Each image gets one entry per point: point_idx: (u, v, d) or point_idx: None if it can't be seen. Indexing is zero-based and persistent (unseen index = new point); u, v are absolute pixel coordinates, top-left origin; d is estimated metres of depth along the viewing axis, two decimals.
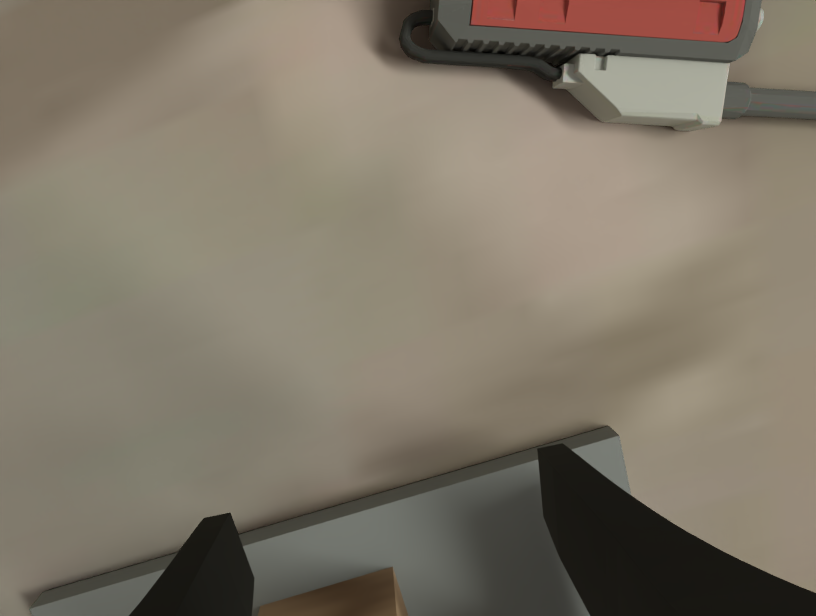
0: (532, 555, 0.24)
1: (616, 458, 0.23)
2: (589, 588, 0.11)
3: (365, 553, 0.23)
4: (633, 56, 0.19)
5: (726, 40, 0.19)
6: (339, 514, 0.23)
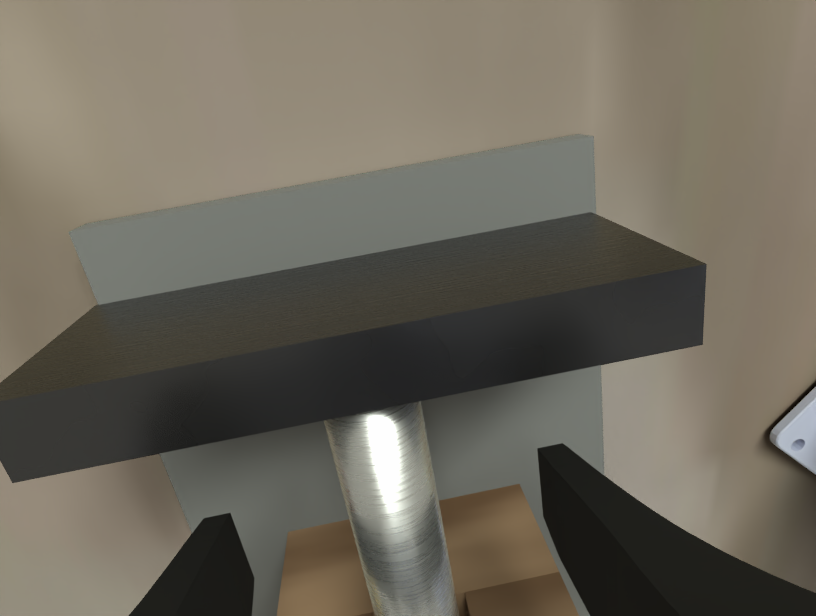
0: None
1: (112, 236, 0.14)
2: (589, 588, 0.11)
3: (266, 559, 0.18)
4: None
5: None
6: None
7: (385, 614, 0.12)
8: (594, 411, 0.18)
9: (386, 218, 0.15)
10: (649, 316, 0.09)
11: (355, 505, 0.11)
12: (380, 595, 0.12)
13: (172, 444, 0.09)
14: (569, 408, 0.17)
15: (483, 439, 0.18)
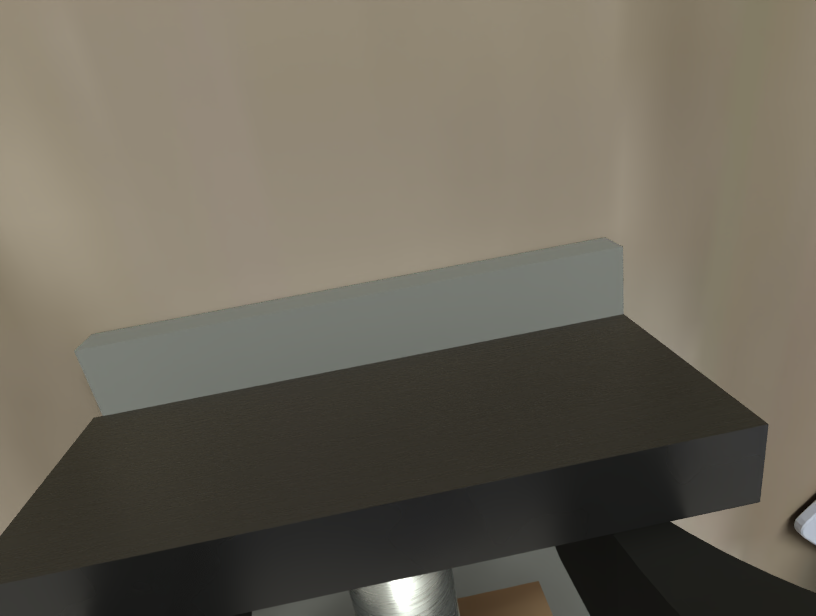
0: None
1: (120, 353, 0.13)
2: (589, 588, 0.11)
3: None
4: None
5: None
6: None
7: None
8: None
9: (406, 330, 0.14)
10: (704, 477, 0.08)
11: None
12: None
13: None
14: None
15: None
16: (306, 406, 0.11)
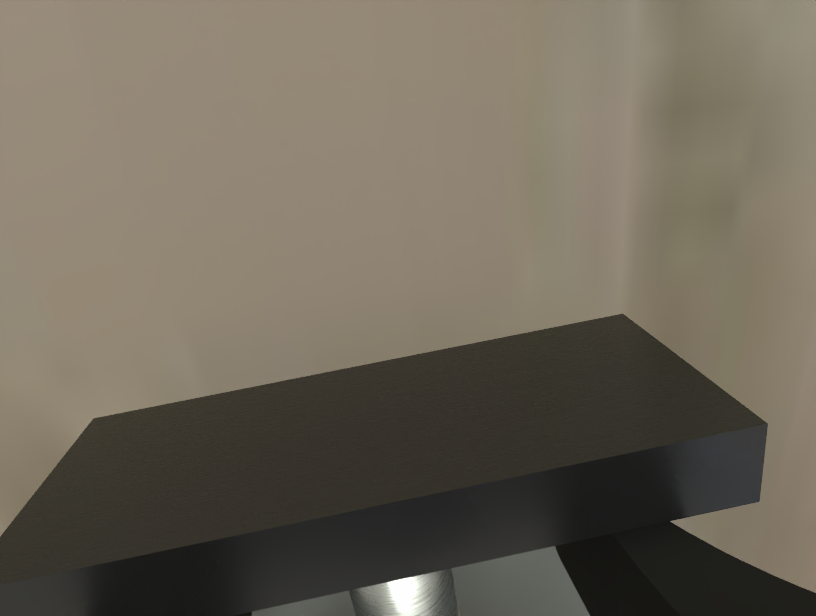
0: None
1: None
2: (589, 588, 0.11)
3: None
4: None
5: None
6: None
7: None
8: None
9: None
10: (703, 476, 0.08)
11: None
12: None
13: None
14: None
15: None
16: (306, 406, 0.11)
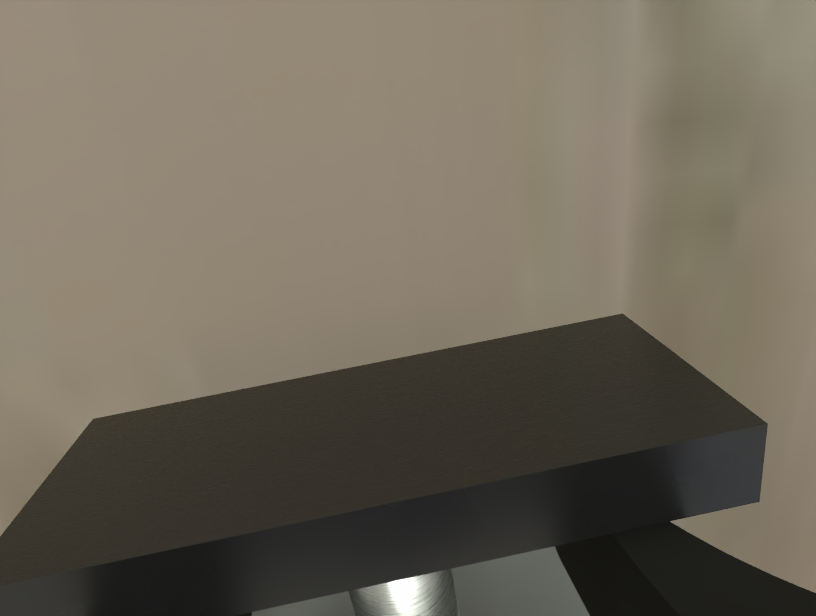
0: None
1: None
2: (588, 588, 0.11)
3: None
4: None
5: None
6: None
7: None
8: None
9: None
10: (703, 476, 0.08)
11: None
12: None
13: None
14: None
15: None
16: (305, 407, 0.11)
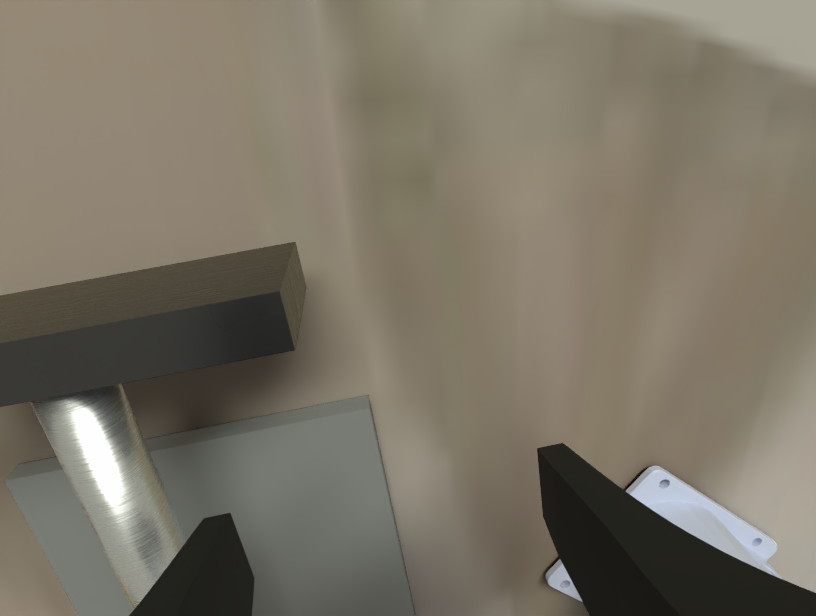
0: None
1: (35, 481, 0.20)
2: (589, 588, 0.11)
3: None
4: None
5: None
6: None
7: (110, 562, 0.15)
8: (398, 572, 0.24)
9: (228, 462, 0.21)
10: (245, 329, 0.12)
11: (65, 473, 0.14)
12: (102, 545, 0.15)
13: None
14: (379, 570, 0.24)
15: (317, 593, 0.24)
16: (29, 301, 0.15)
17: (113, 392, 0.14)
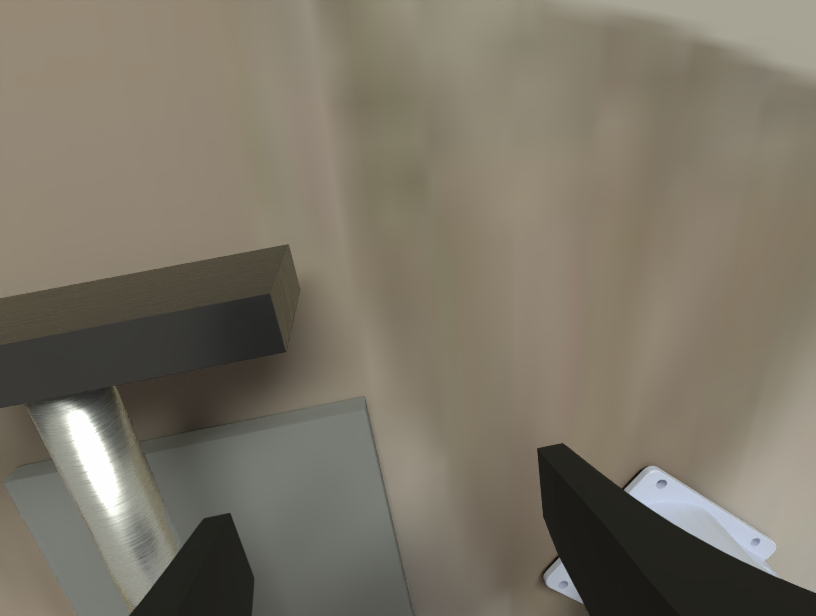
0: None
1: (33, 483, 0.21)
2: (589, 588, 0.11)
3: None
4: None
5: None
6: None
7: (106, 562, 0.15)
8: (396, 572, 0.24)
9: (224, 464, 0.21)
10: (236, 331, 0.12)
11: (60, 475, 0.14)
12: (97, 547, 0.15)
13: None
14: (377, 571, 0.24)
15: (315, 594, 0.24)
16: (25, 304, 0.15)
17: (107, 394, 0.14)
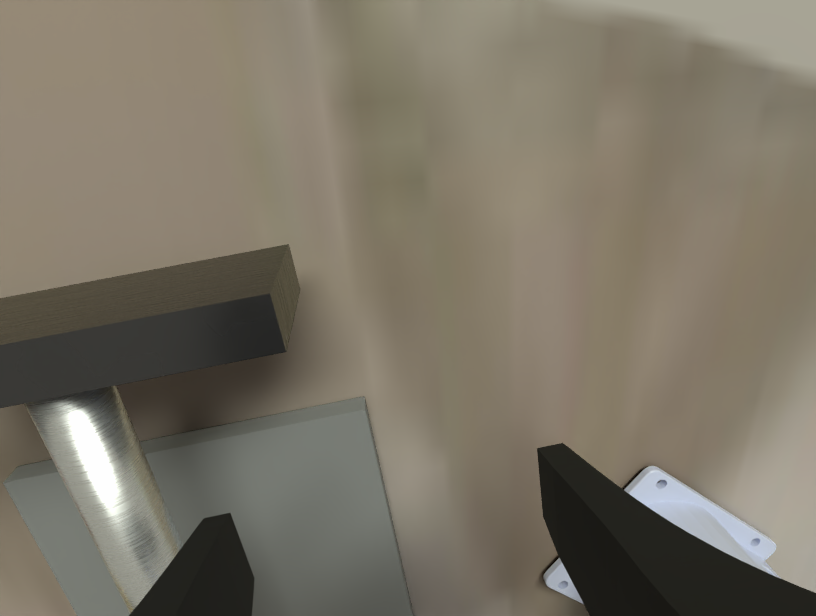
0: None
1: (33, 483, 0.21)
2: (589, 588, 0.11)
3: None
4: None
5: None
6: None
7: (106, 562, 0.15)
8: (396, 572, 0.24)
9: (224, 464, 0.21)
10: (236, 331, 0.12)
11: (60, 475, 0.14)
12: (97, 547, 0.15)
13: None
14: (377, 571, 0.24)
15: (315, 594, 0.24)
16: (25, 304, 0.15)
17: (107, 394, 0.14)
